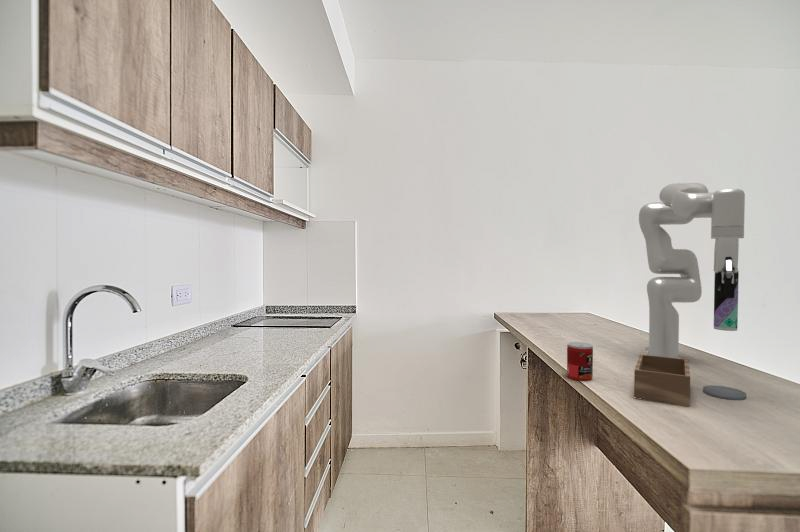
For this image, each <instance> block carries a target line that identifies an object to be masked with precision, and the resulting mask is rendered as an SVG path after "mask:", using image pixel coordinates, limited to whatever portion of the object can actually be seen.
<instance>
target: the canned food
mask: <svg viewBox="0 0 800 532" xmlns="http://www.w3.org/2000/svg"><path fill="white" fill-rule="evenodd" d="M566 347H567V348H566V374H567V377H568V378H569V379H571V380H575V381H579V382H588V381H587V380H589V381H591V380H593V379H592V378H593V370H594V368H593V366H594V364H593V363H594V346H593V344H591V343H588V342H583V341H571V342H570V341H569V342H567V345H566Z"/></svg>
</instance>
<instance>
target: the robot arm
mask: <svg viewBox="0 0 800 532" xmlns="http://www.w3.org/2000/svg"><path fill="white" fill-rule="evenodd" d="M658 195H659V200H660V202H650V203H646V204H644V205H643V206H642V207H640V210H639V212H638V225H639V228H640V230H641V233H642V234H643V237H644V240H645V248H646V256H647V263H648V269H649V270H650V272H651V273H653V274H657V275H679V276H658V277H657V276H656V277H653V278H651V279H650V280H648V282H647V285H646V292H647V293H646V294H647V298H648V299H647V300H648V307H649V310H648V312H649V313H648V315H649V317H648V318H649V319H648V320H649V321H648V322H649V324H648V327H649V328H648V346H645V347H644V351H647V354H646V355H651V356H660V357H670V358H679V359H683V358H682V357H680V356H679V350H680V349H679V347H680V346H679V345H680V342H679V340H680V339H679V338H680V337H679V336H680V335H679V334H680V314H679V312H678V311H677V309H676V308H675V307H674V305H673V304H675V303H683V304H684V303H686V304H687V303H696V302H698V301H700V299H701V297H702V292H703V290H702V282H701V276H700V268H699V262H698V257H697V256H696V254H695V253H694V252H693V251H692V250H690V249H687V248H683V249H682V248H680V249H679V248H673V244H672V236H670V234H669V233H668V232H667V231H666V229H664V228H663V227H662V226H661V225H664V226H665V225H687V224H689V223H690V222H692V221H693V220H694V219H697V218H698V219H700V218H701V219H707V218H710V219H711V220H710V221H711V222H710V226H711V227H710V239H711V240H712V239H713V240H714V239H715V240H714V249H713V250H714V255H713V272H714V273H715V272H716V273H718V272H719V271H721V283H720V297H721V298H734V293H735V284H734V273H736V272H737V268H738V269H739V267H738V266H739V265H738V264H739V249H740V248H739V246H740V244H739V242H740V241H739V239H745V209H746V207H745V204H746V201H745V200H746V194H745V191H744V190H742V189H740V188H728V189H718V190H716V191H714V192H709V190H708V188H707V186H706V185H705V184H703V183H700V182H686V183H683V182H682V183H680V182H679V183H678V182H677V183H672V184H668V185H665V186H664V187H662V188H661V190H660V192H659V194H658ZM725 263H726V264H725ZM734 267H735V270H734ZM723 271H726V272H723ZM734 271H735V272H734Z"/></svg>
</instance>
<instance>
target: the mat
mask: <svg viewBox="0 0 800 532" xmlns="http://www.w3.org/2000/svg"><path fill="white" fill-rule="evenodd" d="M702 391H703V393H704V394H705V395H708V396H710V397H713V398H717V399H722V400H729V401H730V400H731V401H744V400H747V393H746V392H745V391H743V390H741V389H737V388H734V387H730V386H724V385H704V386H703V387H702Z"/></svg>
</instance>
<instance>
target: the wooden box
mask: <svg viewBox="0 0 800 532" xmlns="http://www.w3.org/2000/svg"><path fill="white" fill-rule="evenodd" d="M689 365H690V364H689V359H687V358H682V359H679V358H670V357H660V356H651V355H647V354H639V356H638V359H637V361H636V365H635V367H634V375H633V376H634V378H633V379H634V380H633V381H634V382H633V387H634V389H633V398H634V397H636V398H641V399H640V400H642V399H646V400H645V401H649V400H651V401H650V402H655V401H657V402H656V403H662V404H668V403H669V404H668V405H676V406H682V407H689V408H690V407H691V404H690V403H691V401H690V400H691V372H690V366H689ZM636 398H635V399H636Z"/></svg>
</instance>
